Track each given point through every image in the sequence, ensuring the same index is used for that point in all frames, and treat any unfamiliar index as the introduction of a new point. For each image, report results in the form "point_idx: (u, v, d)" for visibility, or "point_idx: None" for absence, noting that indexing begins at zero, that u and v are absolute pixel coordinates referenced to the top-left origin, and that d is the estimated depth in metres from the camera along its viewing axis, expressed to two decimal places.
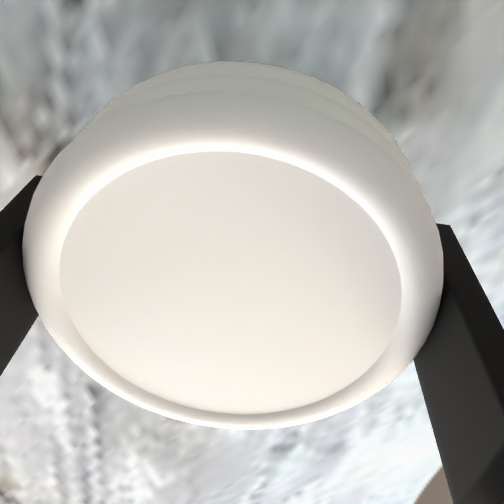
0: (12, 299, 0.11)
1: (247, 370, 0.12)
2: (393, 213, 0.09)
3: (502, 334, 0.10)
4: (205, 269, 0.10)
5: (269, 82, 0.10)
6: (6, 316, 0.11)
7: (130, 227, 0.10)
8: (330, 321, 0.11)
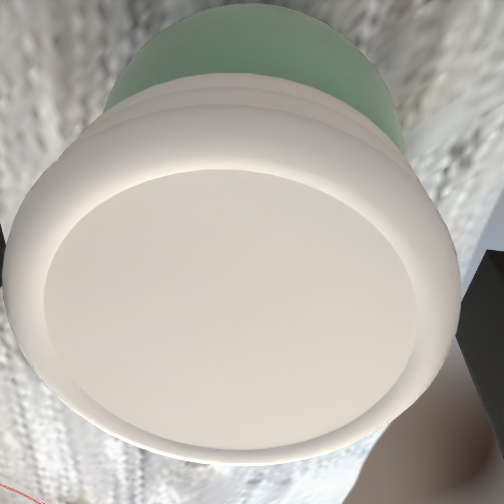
0: None
1: (250, 403, 0.11)
2: (410, 234, 0.08)
3: None
4: (205, 296, 0.10)
5: (273, 94, 0.09)
6: None
7: (122, 253, 0.09)
8: (340, 350, 0.10)
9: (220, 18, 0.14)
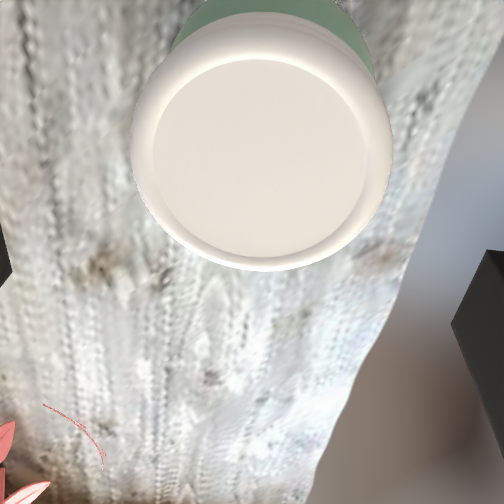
0: None
1: (268, 219, 0.19)
2: (359, 99, 0.16)
3: None
4: (245, 140, 0.17)
5: (287, 22, 0.16)
6: None
7: (201, 110, 0.16)
8: (322, 180, 0.18)
9: None
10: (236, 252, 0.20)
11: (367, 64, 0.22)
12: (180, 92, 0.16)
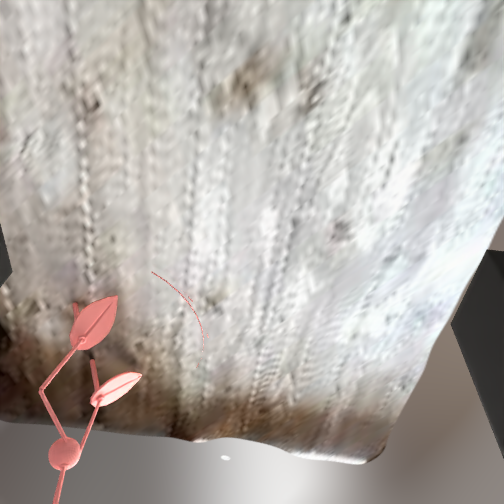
0: None
1: None
2: None
3: None
4: None
5: None
6: None
7: None
8: None
9: None
10: None
11: None
12: None
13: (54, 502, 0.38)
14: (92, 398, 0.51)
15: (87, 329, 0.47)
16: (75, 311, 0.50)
